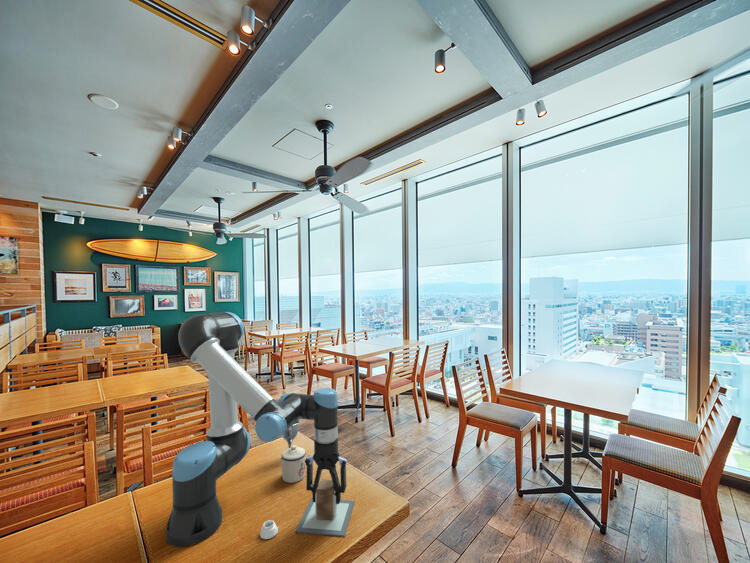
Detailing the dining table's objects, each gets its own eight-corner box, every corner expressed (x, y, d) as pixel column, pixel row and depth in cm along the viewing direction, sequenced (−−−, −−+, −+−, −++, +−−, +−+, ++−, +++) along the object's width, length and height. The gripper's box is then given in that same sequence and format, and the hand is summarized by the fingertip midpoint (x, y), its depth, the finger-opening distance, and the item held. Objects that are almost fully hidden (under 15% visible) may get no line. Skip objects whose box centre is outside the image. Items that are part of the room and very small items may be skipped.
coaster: (295, 532, 94) (295, 530, 94) (311, 499, 109) (311, 497, 109) (344, 536, 92) (344, 535, 92) (354, 502, 107) (354, 500, 107)
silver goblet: (276, 461, 134) (276, 425, 134) (285, 451, 141) (285, 417, 142) (294, 462, 132) (294, 426, 133) (302, 452, 140) (301, 418, 140)
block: (316, 518, 99) (316, 489, 99) (321, 507, 104) (321, 479, 104) (332, 519, 98) (332, 490, 98) (336, 508, 103) (336, 480, 103)
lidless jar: (260, 529, 96) (259, 542, 91) (260, 519, 96) (259, 531, 91) (277, 525, 97) (277, 538, 92) (277, 516, 97) (277, 528, 92)
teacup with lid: (303, 483, 118) (303, 451, 118) (279, 484, 118) (278, 452, 118) (309, 465, 130) (308, 436, 130) (286, 466, 130) (286, 437, 130)
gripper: (294, 443, 99) (295, 518, 98) (351, 446, 96) (352, 523, 96) (303, 432, 106) (303, 502, 106) (356, 434, 104) (356, 506, 103)
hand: (326, 512), depth 101 cm, fingers open, 5 cm apart
